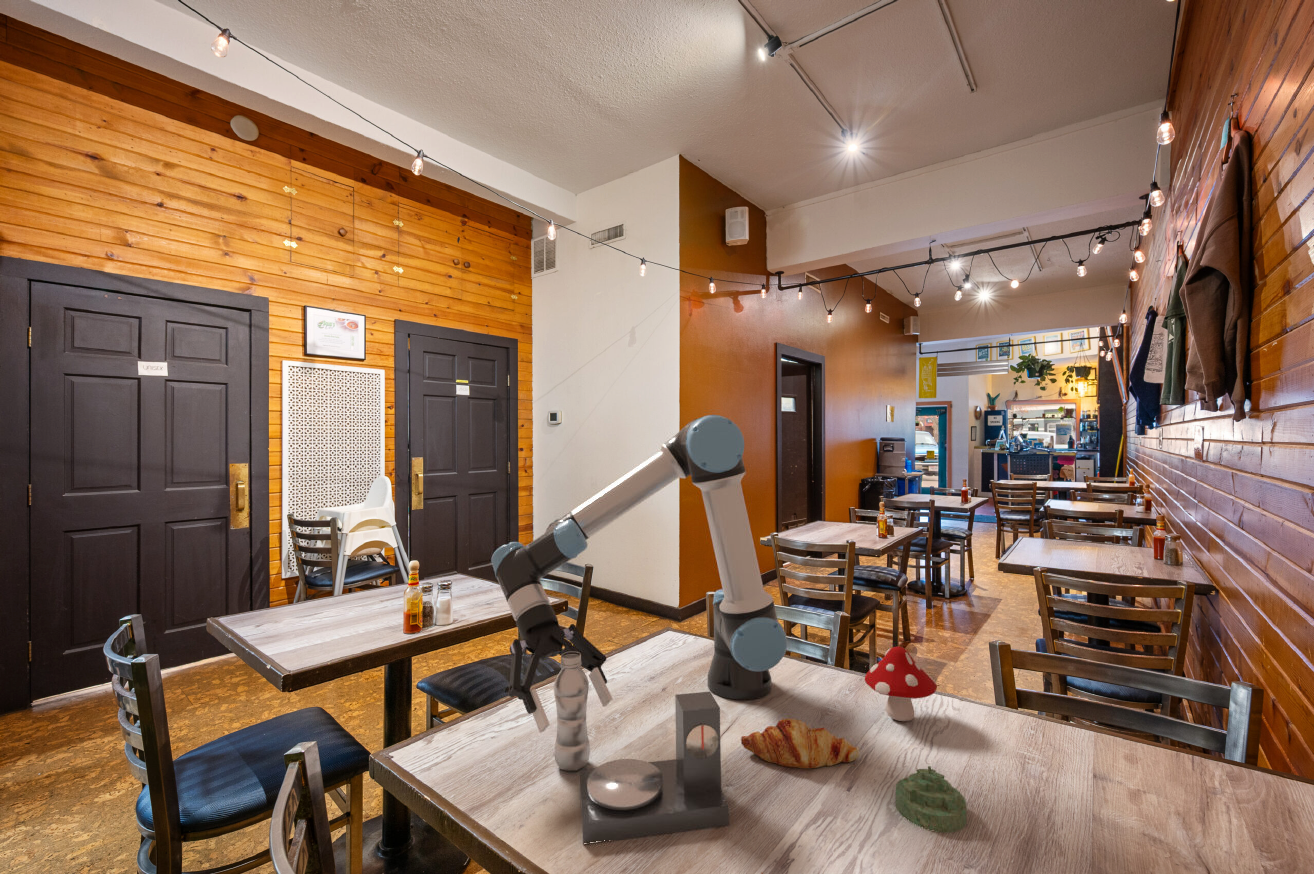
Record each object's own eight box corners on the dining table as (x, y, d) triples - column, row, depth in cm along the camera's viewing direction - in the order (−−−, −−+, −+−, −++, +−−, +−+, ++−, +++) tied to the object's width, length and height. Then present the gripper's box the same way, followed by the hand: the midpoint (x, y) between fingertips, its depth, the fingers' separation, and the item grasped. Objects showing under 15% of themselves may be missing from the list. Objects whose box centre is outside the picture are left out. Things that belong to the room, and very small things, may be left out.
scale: (705, 772, 100) (704, 681, 101) (728, 825, 87) (727, 719, 87) (579, 787, 97) (578, 692, 97) (583, 844, 83) (581, 734, 83)
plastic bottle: (593, 756, 106) (592, 648, 107) (585, 777, 100) (584, 662, 100) (560, 754, 107) (558, 647, 107) (549, 775, 100) (548, 661, 101)
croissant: (855, 772, 106) (851, 724, 110) (867, 774, 97) (862, 721, 101) (740, 762, 109) (740, 716, 113) (741, 763, 100) (741, 713, 104)
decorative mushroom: (927, 705, 125) (926, 636, 125) (948, 737, 111) (946, 660, 111) (860, 701, 127) (858, 633, 127) (872, 732, 113) (870, 656, 114)
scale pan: (655, 761, 98) (655, 755, 98) (669, 804, 86) (669, 797, 86) (585, 768, 96) (585, 762, 96) (589, 814, 84) (589, 807, 84)
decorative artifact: (972, 808, 90) (906, 784, 96) (971, 763, 90) (905, 743, 97) (958, 843, 82) (887, 815, 89) (957, 794, 82) (886, 769, 89)
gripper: (577, 610, 124) (622, 702, 112) (467, 638, 107) (507, 750, 95) (592, 590, 120) (640, 683, 109) (479, 616, 103) (522, 730, 92)
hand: (577, 715), depth 102 cm, fingers open, 13 cm apart
